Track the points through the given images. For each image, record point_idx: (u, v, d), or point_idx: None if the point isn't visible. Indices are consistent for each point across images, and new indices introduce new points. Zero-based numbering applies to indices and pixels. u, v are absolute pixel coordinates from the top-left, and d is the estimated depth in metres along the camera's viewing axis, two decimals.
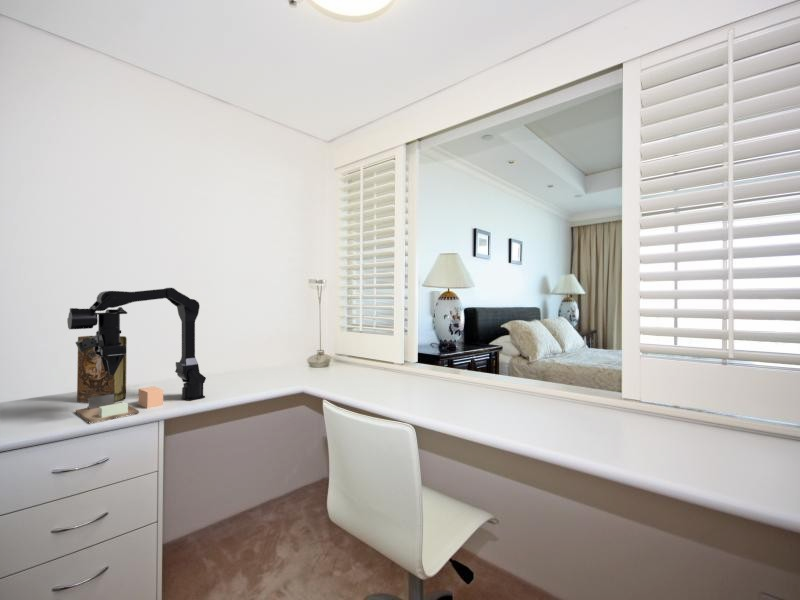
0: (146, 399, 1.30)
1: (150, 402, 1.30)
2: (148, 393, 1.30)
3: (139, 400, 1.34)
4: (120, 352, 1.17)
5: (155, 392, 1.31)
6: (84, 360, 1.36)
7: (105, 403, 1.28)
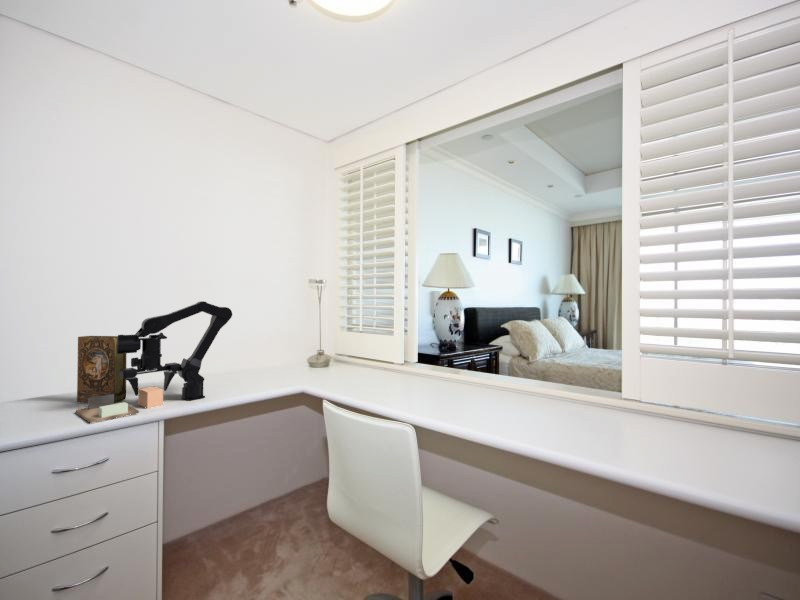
0: (146, 399, 1.30)
1: (150, 402, 1.30)
2: (148, 393, 1.30)
3: (139, 400, 1.34)
4: (122, 376, 1.26)
5: (155, 392, 1.31)
6: (84, 360, 1.36)
7: (105, 403, 1.28)
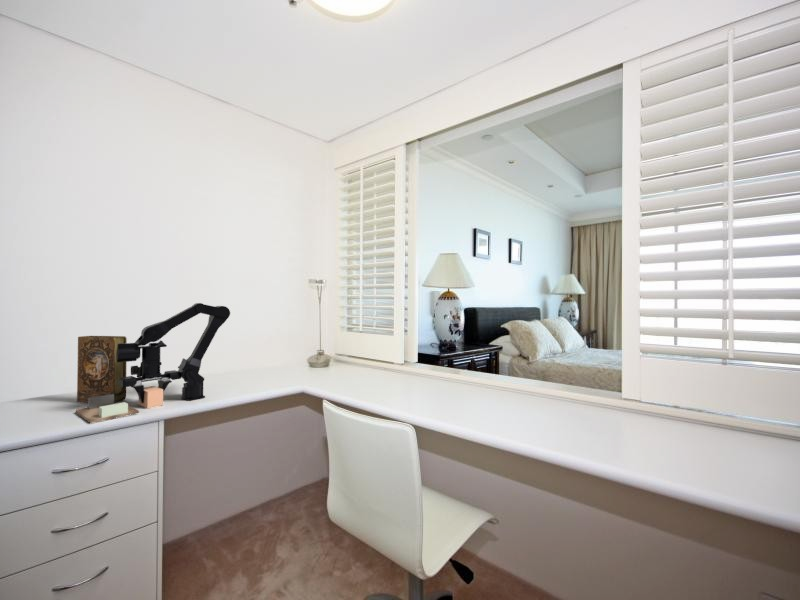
0: (146, 399, 1.30)
1: (150, 402, 1.30)
2: (148, 392, 1.30)
3: (139, 400, 1.34)
4: (122, 385, 1.26)
5: (155, 392, 1.31)
6: (84, 360, 1.36)
7: (105, 403, 1.28)
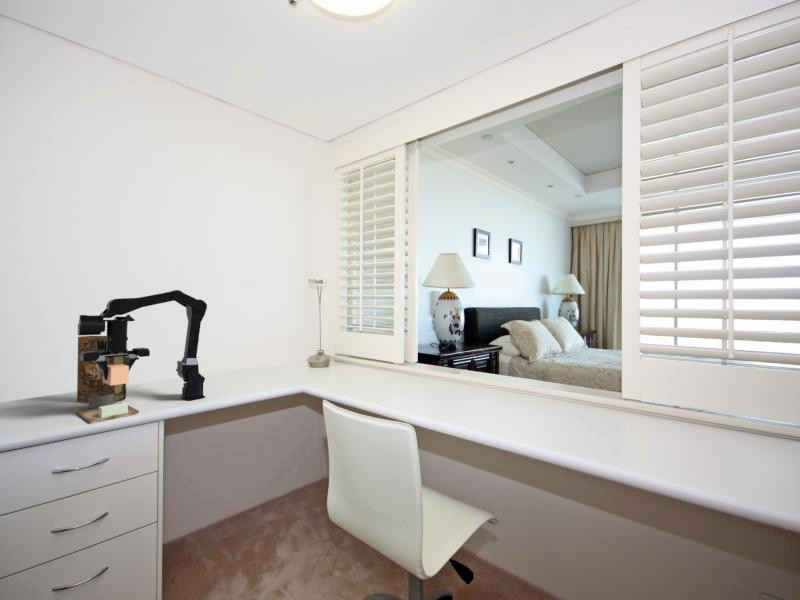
0: (109, 375, 1.22)
1: (114, 379, 1.22)
2: (111, 368, 1.21)
3: (103, 377, 1.26)
4: (82, 359, 1.17)
5: (120, 368, 1.23)
6: None
7: (105, 403, 1.28)
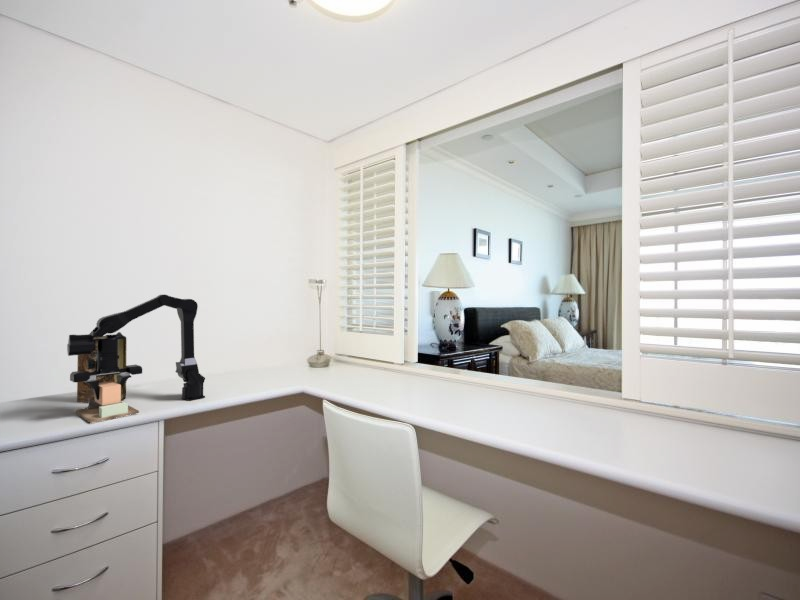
0: (101, 395, 1.20)
1: (105, 398, 1.20)
2: (103, 388, 1.19)
3: None
4: (73, 380, 1.16)
5: (111, 387, 1.21)
6: (84, 360, 1.36)
7: None
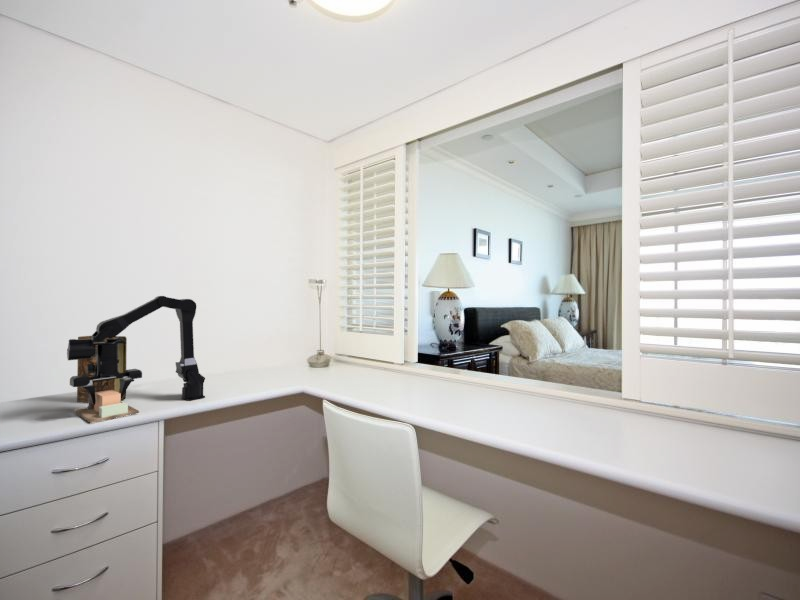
0: (101, 404, 1.20)
1: None
2: (103, 397, 1.19)
3: (95, 405, 1.24)
4: (72, 384, 1.15)
5: (111, 396, 1.21)
6: (84, 360, 1.36)
7: None
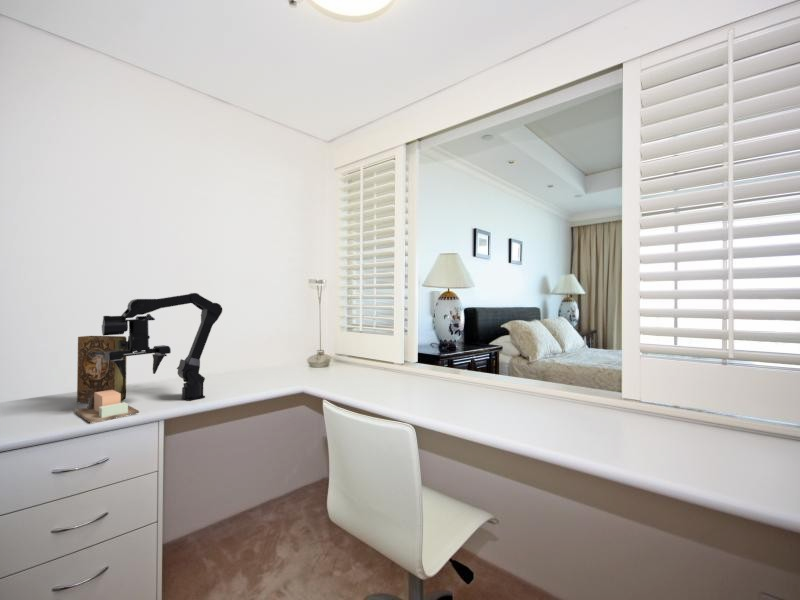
0: (101, 404, 1.20)
1: None
2: (103, 397, 1.19)
3: (95, 405, 1.24)
4: (108, 358, 1.23)
5: (111, 396, 1.21)
6: (84, 360, 1.36)
7: None
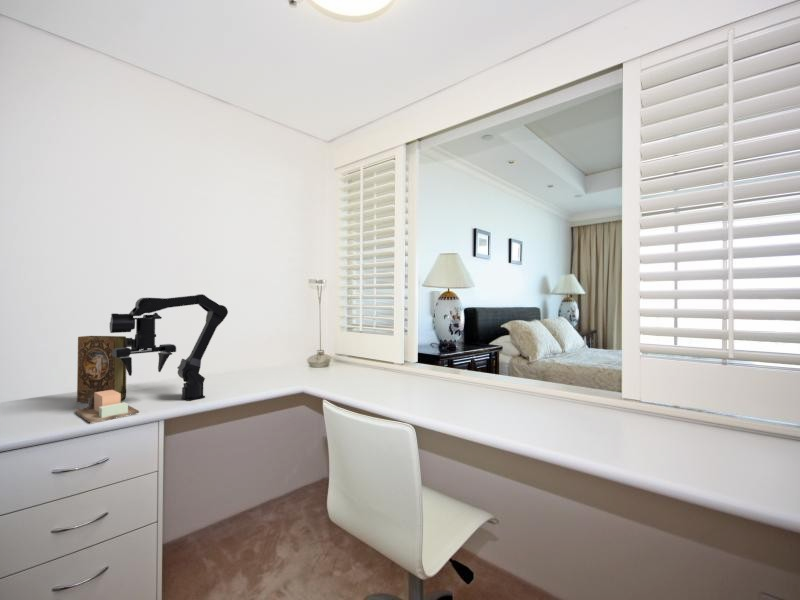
0: (101, 404, 1.20)
1: None
2: (103, 397, 1.19)
3: (95, 405, 1.24)
4: (115, 355, 1.24)
5: (111, 396, 1.21)
6: (84, 360, 1.36)
7: None
